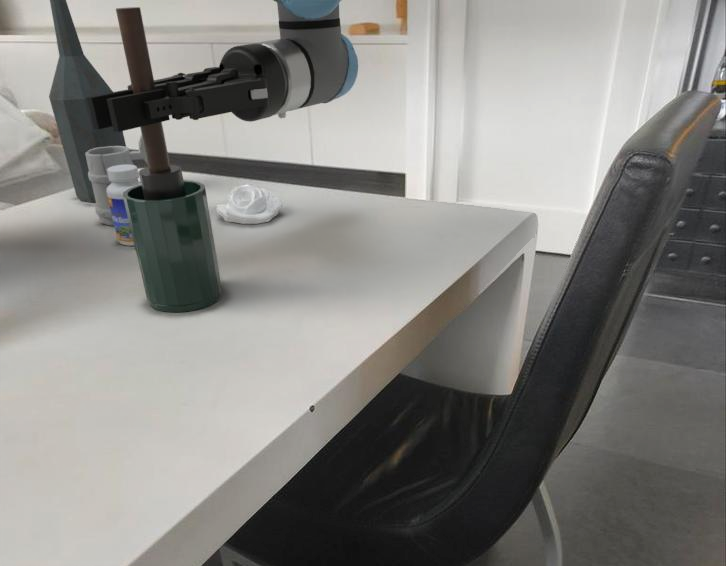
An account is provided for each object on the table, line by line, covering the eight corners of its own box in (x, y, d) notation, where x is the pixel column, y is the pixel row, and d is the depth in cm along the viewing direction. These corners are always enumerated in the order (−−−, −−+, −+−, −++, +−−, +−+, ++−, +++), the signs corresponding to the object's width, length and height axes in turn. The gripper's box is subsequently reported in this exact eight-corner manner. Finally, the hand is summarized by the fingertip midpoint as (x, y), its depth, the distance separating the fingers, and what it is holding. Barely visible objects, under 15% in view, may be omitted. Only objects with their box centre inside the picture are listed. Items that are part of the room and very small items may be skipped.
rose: (275, 174, 108) (284, 190, 100) (278, 204, 110) (287, 221, 103) (211, 180, 106) (215, 197, 98) (216, 210, 109) (220, 228, 101)
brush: (142, 232, 75) (93, 9, 62) (166, 220, 78) (123, 6, 66) (176, 235, 73) (132, 9, 61) (199, 223, 76) (161, 6, 64)
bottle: (141, 186, 123) (96, -21, 105) (131, 201, 115) (80, -20, 97) (83, 189, 122) (27, -18, 104) (69, 204, 115) (6, -17, 96)
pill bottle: (110, 242, 98) (91, 169, 92) (139, 232, 101) (123, 161, 95) (136, 248, 95) (118, 174, 89) (165, 237, 99) (150, 165, 93)
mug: (103, 213, 110) (82, 130, 102) (178, 209, 110) (162, 126, 103) (93, 228, 104) (69, 141, 96) (171, 223, 104) (154, 136, 97)
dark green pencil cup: (133, 307, 79) (105, 198, 71) (176, 280, 85) (155, 177, 78) (196, 316, 76) (174, 204, 69) (236, 288, 82) (220, 182, 75)
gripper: (317, 121, 79) (167, 165, 63) (220, 112, 86) (63, 150, 70) (313, 44, 74) (149, 71, 59) (210, 41, 81) (40, 65, 66)
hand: (103, 114), depth 65 cm, fingers closed on brush, 2 cm apart
